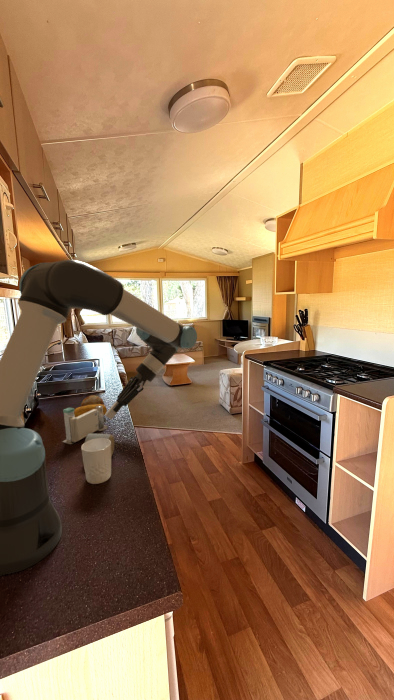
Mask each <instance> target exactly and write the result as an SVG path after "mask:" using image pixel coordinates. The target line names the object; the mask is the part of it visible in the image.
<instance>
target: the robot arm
mask: <svg viewBox="0 0 394 700" xmlns="http://www.w3.org/2000/svg"><path fill="white" fill-rule="evenodd" d="M18 283H19V285H18V288H19V292H20V296H19V300H18V301H17V305H18V307H19V309H20V310H21V311H20V315H19V317H18V319H17V322H16V324H15V326H14V328H13V330H12V333H11V335H10V337H9V339H8V342H7V344H6V347H5V348H4V351H3V353H2V356H0V576H6V575H5V574H8V575H11V573H12V574H16V573H18V572H21V571H25V570H26V569H29V568H30V567H32V566H34V565H36V564H38V563H39V562H40V561H43V559H45V558H46V557H47V556H48V555H49V554H50V553H51V552H52V551H53V550H54V549H55V547H57V545H58V543H59V542H60V540H61V537H62V533H63V527H62V526H63V525H62V520H61V517H60V515H59V513H58V512H57V510H56V508H55V506H54V504H53V502H52V501H51V499H50V493H49V483H48V475H47V473H48V472H47V465H46V464H47V463H46V450H45V446H44V444H43V438H42V437H41V435H40V433H38V432H37V431H35V430H33V429H31V428H26V427H25V422H24V421H23V419H22V414H23V411H24V410H25V409H24V408H25V406H26V404H27V402H28V399H29V396H30V394H31V391H32V388H33V386H34V384H35V381H36V380H37V377H38V374H39V371H40V370H41V367H42V364H43V361H44V360H45V357H46V354H47V352H48V349H49V347H50V345H51V342H52V340H53V337H54V335H55V333H56V330H57V327H58V325H61V324H63V323H66V322H67V320H68V317H69V315H70V312H71V310H72V309H73V310H74V309H76V310H77V309H78V310H79V309H80V310H88V311H92V312H95V313H98V314H100V315H103V316H108V315H109V316H110V315H111V316H112V317H115V318H117V319H118V320H121V321H123V322H124V323H126V324H129V325H131V326H133V327H134V328H136V329H135V333H136V336H138V338H140V340H141V341H143V342H144V344H146V345H147V346H148V347H149V348H150V349H151V351H150V352H149V353H148V354H146V355H147V356H145V358H144V359H143V360H142V362H141V363H140V364H139V365H138V366H137V368H135V371H136V372H137V374H136V375H135V376H131V377H129V380H128V382H127V383H126V384H125V386H124V387H123V388H122V390H121V391H120V392H119V394H118V395H117V397H116V398H117V399H116V401H114V403H113V404H112V405H111V407H110V408H109V409H107V412H106V414H105V415H104V416H105V417H106V418H108V419H109V420H113V418H114V417H115V416H116V415H117V414H118V412H119V411H120V410H121V409H122V408H123V407H127V406H128V405H129V404H130V403H131V402H132V401H133V400H134V399H135V397H136V396H137V395H138V394H139V393H141V392H143V390H144V386H145V384H146V382H152V381H153V380H154V379H155V378H156V376H157V374H159V373H160V372H161V371H162V370H164V367H165V366H166V365H167V363H168V362H169V361H170V360H171V359H172V358H173V357H174V355H175V354H176V353H177V352H178V350H179V349H183V350H184V349H192V348H193V347H194V346H196V343H197V339H198V333H197V330H196V328H195V327H194V326H189V325H181V324H180V323H178V322H176V321H175V320H173V319H172V318H170V317H168V316H167V315H166V314H164V313H162V312H161V311H159V310H157V309H156V308H154V307H153V306H151V305H150V304H148V303H147V302H145V301H144V300H141V298H139V297H137V296H135V295H134V294H132V293H131V292H129V291H127V290H126V289H125V287H124V285H123V283H122V282H121V281H119V280H118V279H116V278H115V277H113V276H112V275H109V274H108V273H106V272H104V271H103V270H101V269H99V268H97V267H95V266H93V265H91V264H89V263H87V262H84V261H81V260H77V259H65V260H57V261H53V262H52V261H51V262H41V263H37V264H35V265H32V266H30V267H28V269H26V270H24V272H23V273H22V275H21V277H20V279H19V282H18ZM15 572H16V573H15ZM2 574H3V575H2Z"/></svg>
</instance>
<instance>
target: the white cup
mask: <svg viewBox="0 0 394 700" xmlns="http://www.w3.org/2000/svg"><path fill="white" fill-rule="evenodd" d="M80 450H81V456H82V463H83V467H84V472H85V473H84V474H85V479H86V481H87V483H89V484H92V485H96V484H102V483H105V482H106V481H108V480H109V479H110V478H112V477H111V475H112V456H111V441H110V440H108V439H105V438H97V439H92V440H89V441H87V442H85V441H84V443H83V444H81V448H80Z"/></svg>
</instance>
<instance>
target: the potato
mask: <svg viewBox="0 0 394 700" xmlns="http://www.w3.org/2000/svg"><path fill="white" fill-rule="evenodd" d="M99 405H101V406H103V417H104V416H105V414H106V413H107V411H108V408H107V406H106V405H105V404H104V405H102V404H95V405H87V406H82V407H81V406H79V407H76V408H74V415H75V417H78V416H80V415H82V414H84V413H87V412H89V411H91V410H93V409H96V406H99Z"/></svg>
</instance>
